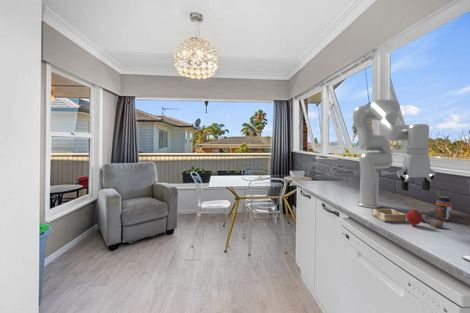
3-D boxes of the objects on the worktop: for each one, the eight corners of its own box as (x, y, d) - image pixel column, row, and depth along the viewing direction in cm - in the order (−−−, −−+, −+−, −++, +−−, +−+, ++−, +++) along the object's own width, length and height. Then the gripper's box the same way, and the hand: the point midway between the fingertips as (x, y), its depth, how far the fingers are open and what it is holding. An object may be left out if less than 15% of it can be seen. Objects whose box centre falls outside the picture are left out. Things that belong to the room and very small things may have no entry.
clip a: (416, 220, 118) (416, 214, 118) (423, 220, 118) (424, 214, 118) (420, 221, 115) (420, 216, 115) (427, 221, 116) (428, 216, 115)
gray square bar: (417, 218, 119) (417, 216, 119) (420, 218, 119) (420, 216, 119) (439, 227, 107) (439, 224, 107) (441, 227, 107) (442, 224, 107)
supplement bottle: (431, 218, 121) (433, 195, 120) (439, 217, 123) (440, 195, 122) (445, 222, 115) (447, 198, 115) (453, 220, 117) (455, 197, 117)
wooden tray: (371, 215, 125) (372, 209, 125) (391, 215, 125) (391, 208, 125) (384, 222, 115) (385, 214, 115) (405, 222, 115) (405, 214, 115)
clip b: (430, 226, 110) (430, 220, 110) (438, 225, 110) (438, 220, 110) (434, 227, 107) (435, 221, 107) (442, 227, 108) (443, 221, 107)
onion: (406, 222, 114) (407, 205, 114) (421, 225, 111) (422, 208, 110) (405, 226, 110) (405, 208, 109) (421, 228, 106) (422, 210, 106)
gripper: (429, 151, 112) (427, 188, 113) (392, 151, 112) (390, 188, 113) (443, 152, 105) (441, 191, 106) (404, 152, 104) (402, 192, 105)
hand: (415, 190), depth 109 cm, fingers open, 9 cm apart
